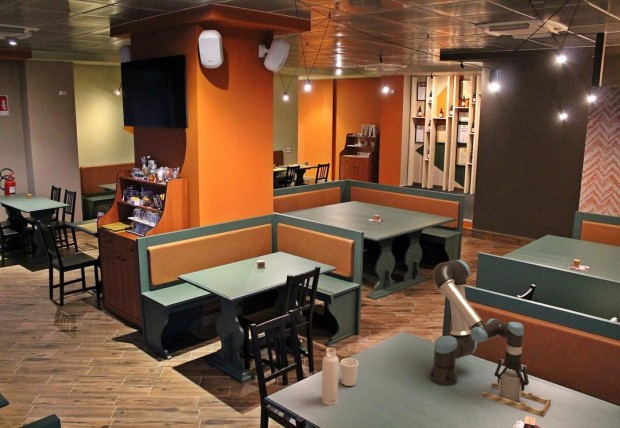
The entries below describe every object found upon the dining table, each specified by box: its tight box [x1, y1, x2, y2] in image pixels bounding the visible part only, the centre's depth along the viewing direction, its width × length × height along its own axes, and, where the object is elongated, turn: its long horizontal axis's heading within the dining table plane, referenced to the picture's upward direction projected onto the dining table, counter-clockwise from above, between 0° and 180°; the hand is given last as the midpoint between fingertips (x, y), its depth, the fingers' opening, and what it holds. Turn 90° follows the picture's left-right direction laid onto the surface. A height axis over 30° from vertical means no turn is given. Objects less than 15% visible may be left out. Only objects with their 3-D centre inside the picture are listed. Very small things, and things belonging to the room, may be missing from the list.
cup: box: [339, 357, 360, 388], centre depth 293 cm, size 10×10×13 cm
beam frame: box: [482, 381, 552, 418], centre depth 279 cm, size 30×14×3 cm, turn 53°
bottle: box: [321, 347, 340, 406], centre depth 273 cm, size 8×8×28 cm
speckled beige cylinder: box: [499, 369, 521, 402], centre depth 280 cm, size 10×10×12 cm
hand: (510, 392), depth 281 cm, fingers closed on speckled beige cylinder, 9 cm apart
